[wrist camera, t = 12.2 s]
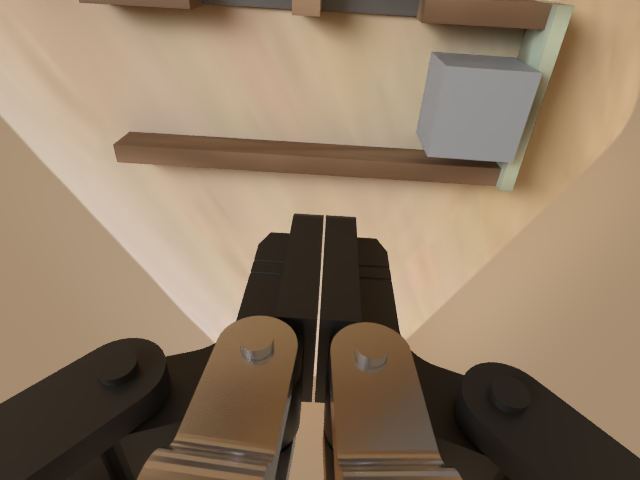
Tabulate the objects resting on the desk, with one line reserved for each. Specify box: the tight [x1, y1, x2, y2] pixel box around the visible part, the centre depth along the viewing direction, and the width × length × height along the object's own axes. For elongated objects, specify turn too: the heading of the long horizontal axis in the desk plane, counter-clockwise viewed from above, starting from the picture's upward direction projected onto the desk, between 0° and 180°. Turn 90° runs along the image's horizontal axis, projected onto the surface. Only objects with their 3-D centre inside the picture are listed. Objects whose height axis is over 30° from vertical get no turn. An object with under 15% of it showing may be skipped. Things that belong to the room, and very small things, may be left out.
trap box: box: [79, 0, 574, 191], centre depth 23 cm, size 18×26×3 cm
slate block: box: [416, 52, 542, 163], centre depth 25 cm, size 5×5×4 cm
